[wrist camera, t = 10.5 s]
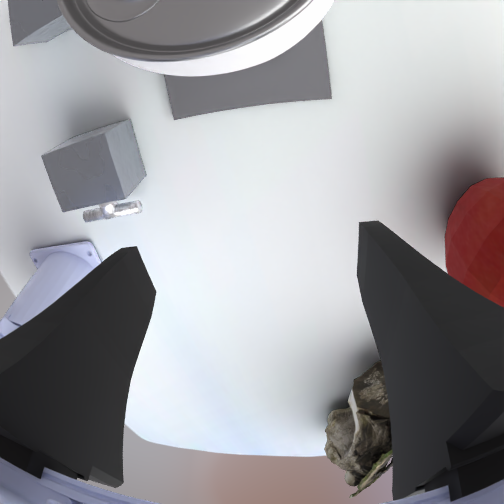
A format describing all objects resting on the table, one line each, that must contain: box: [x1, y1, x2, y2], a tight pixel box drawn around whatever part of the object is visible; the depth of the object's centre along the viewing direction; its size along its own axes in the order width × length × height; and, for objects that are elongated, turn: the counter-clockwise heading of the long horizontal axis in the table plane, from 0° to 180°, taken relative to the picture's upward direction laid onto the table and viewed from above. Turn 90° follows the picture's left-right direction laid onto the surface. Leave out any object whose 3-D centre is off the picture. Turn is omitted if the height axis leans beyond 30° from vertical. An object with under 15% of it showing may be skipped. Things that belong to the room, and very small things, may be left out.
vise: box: [8, 0, 146, 222], centre depth 14 cm, size 17×5×4 cm, turn 9°
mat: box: [164, 20, 332, 120], centre depth 14 cm, size 9×9×1 cm
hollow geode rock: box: [324, 361, 393, 498], centre depth 30 cm, size 28×13×15 cm
